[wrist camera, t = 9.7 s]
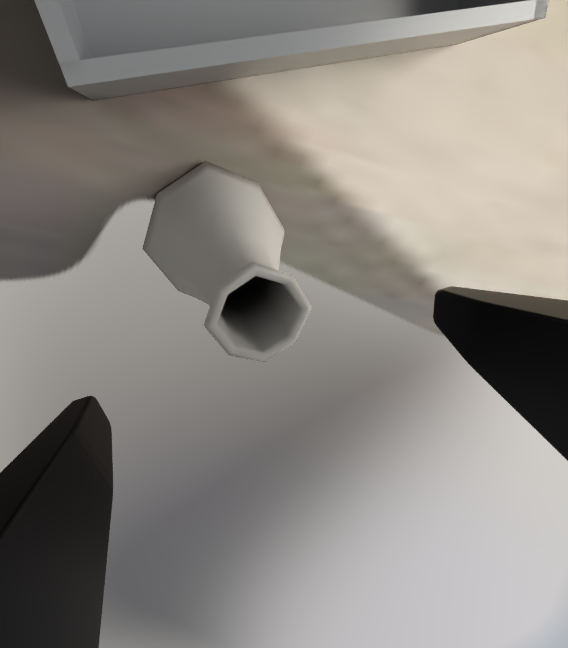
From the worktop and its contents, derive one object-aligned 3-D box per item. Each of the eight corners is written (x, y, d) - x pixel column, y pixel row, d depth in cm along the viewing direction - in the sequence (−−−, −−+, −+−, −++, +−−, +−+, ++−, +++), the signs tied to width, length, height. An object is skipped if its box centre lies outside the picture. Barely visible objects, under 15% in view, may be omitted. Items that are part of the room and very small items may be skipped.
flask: (116, 250, 18) (79, 352, 10) (201, 131, 17) (243, 127, 8) (228, 319, 22) (271, 436, 13) (304, 226, 20) (405, 290, 12)
